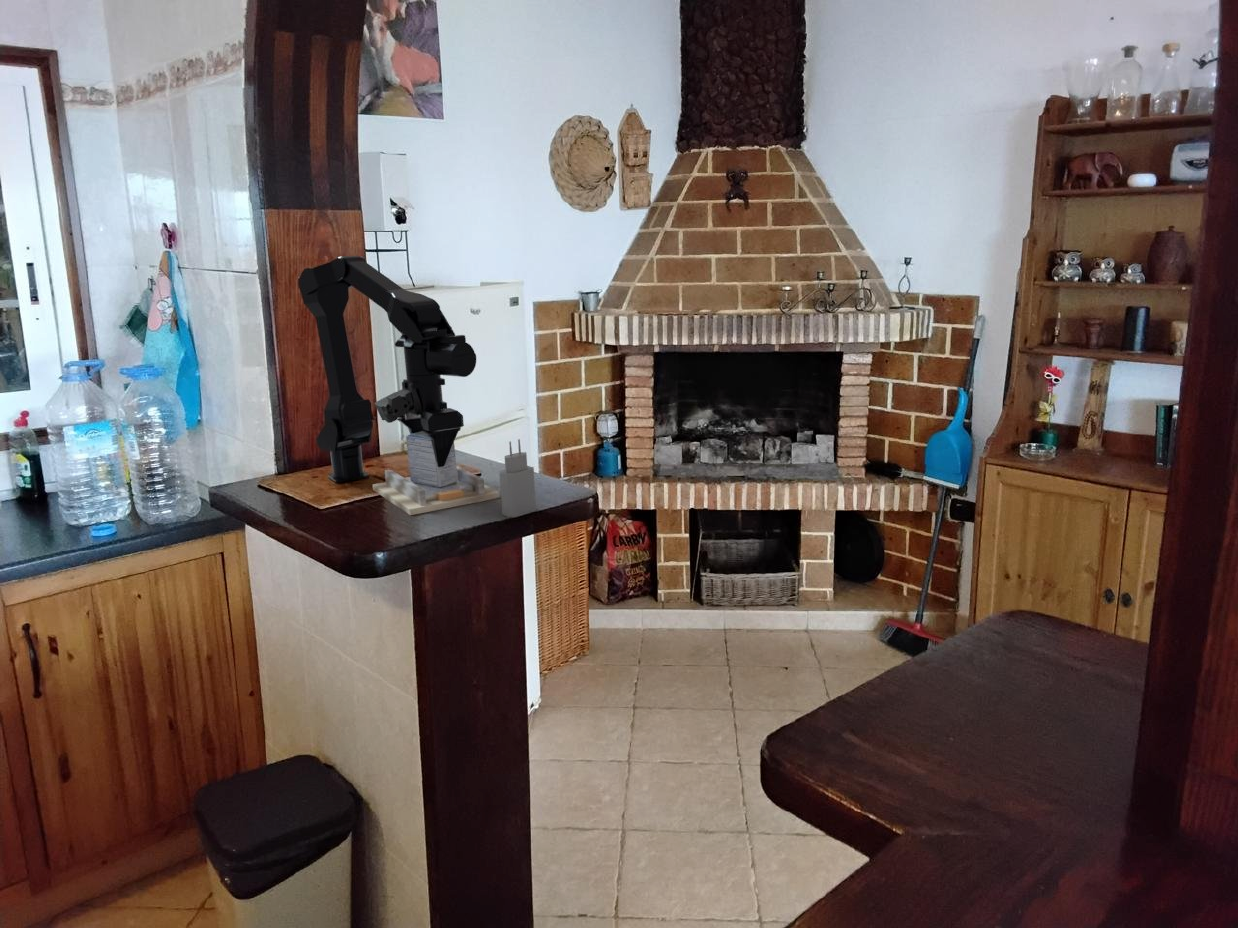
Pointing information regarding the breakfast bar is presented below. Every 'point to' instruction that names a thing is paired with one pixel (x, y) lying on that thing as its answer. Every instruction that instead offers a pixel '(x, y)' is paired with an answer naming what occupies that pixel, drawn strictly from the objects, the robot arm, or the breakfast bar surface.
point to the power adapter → (517, 485)
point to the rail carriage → (445, 490)
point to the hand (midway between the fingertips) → (431, 461)
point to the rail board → (414, 496)
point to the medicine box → (429, 462)
